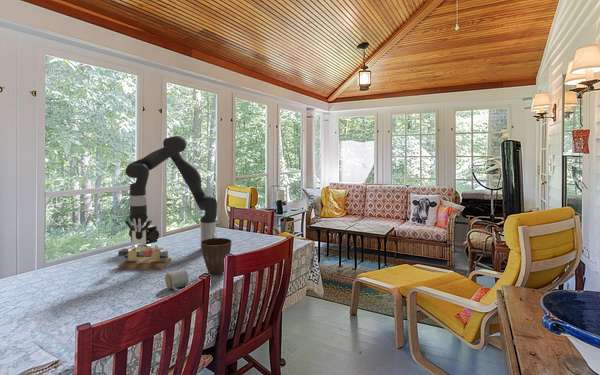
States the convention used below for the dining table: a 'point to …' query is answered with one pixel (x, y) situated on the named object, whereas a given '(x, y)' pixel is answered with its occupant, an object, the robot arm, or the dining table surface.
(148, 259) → the base board
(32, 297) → the dining table surface
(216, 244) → the plant pot
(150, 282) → the dining table surface
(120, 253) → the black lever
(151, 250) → the red lever
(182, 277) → the ceramic mug
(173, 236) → the dining table surface
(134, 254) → the pipe manifold
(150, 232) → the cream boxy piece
